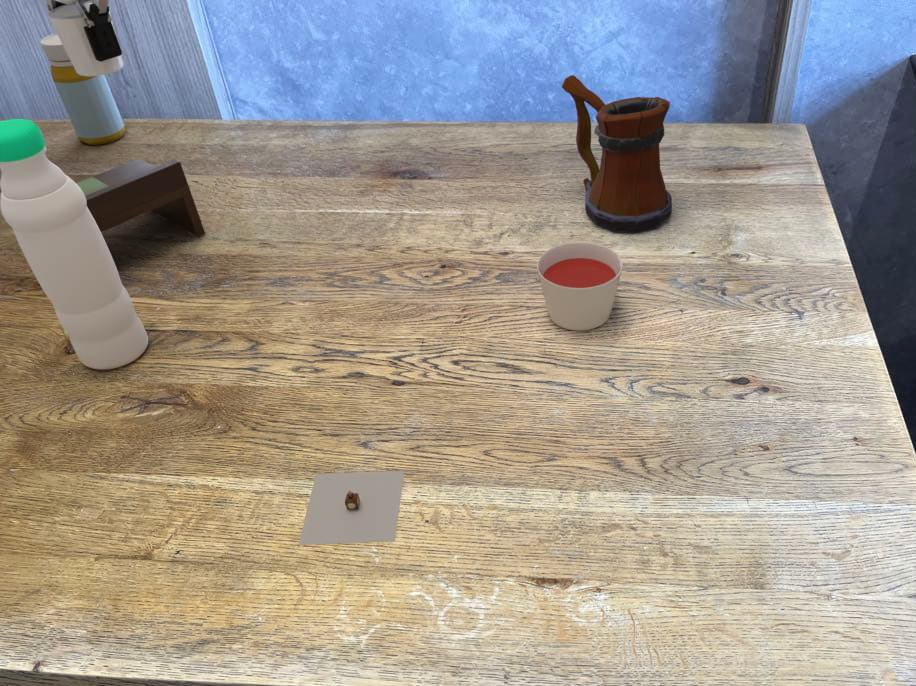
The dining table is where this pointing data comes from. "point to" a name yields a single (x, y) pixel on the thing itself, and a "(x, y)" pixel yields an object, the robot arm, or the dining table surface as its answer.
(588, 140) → the mug
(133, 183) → the shelf
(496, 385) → the dining table surface
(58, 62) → the bottle
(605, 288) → the candle
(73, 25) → the shot glass
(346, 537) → the grey flat square
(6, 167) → the water bottle
